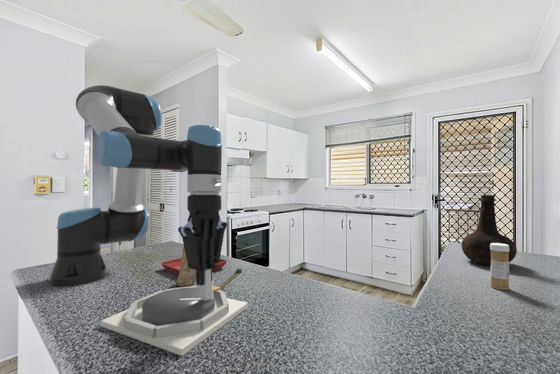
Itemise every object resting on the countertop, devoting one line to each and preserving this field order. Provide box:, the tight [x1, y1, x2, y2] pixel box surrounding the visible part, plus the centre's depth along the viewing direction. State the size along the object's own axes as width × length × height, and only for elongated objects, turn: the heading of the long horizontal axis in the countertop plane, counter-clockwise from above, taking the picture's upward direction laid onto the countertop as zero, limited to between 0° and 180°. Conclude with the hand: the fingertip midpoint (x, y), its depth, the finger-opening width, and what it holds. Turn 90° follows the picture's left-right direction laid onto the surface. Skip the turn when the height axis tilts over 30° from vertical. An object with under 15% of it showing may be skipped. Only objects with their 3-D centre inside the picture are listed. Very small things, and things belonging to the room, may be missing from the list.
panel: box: [100, 285, 249, 357], centre depth 63 cm, size 24×22×4 cm
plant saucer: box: [160, 257, 228, 276], centre depth 101 cm, size 18×18×3 cm
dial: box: [142, 272, 215, 326], centre depth 63 cm, size 16×16×8 cm
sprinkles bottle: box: [490, 243, 510, 291], centre depth 82 cm, size 5×5×14 cm
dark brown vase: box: [460, 194, 518, 267], centre depth 109 cm, size 18×18×28 cm
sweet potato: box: [175, 247, 196, 288], centre depth 84 cm, size 6×18×6 cm
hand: (204, 297), depth 61 cm, fingers closed
